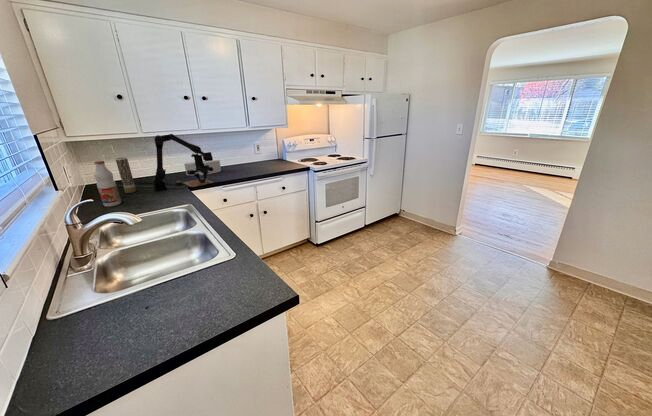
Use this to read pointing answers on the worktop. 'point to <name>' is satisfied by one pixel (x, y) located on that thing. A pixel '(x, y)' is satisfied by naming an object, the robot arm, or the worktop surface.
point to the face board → (197, 183)
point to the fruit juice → (106, 185)
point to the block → (214, 164)
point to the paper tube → (126, 175)
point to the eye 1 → (178, 183)
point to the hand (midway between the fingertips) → (202, 180)
